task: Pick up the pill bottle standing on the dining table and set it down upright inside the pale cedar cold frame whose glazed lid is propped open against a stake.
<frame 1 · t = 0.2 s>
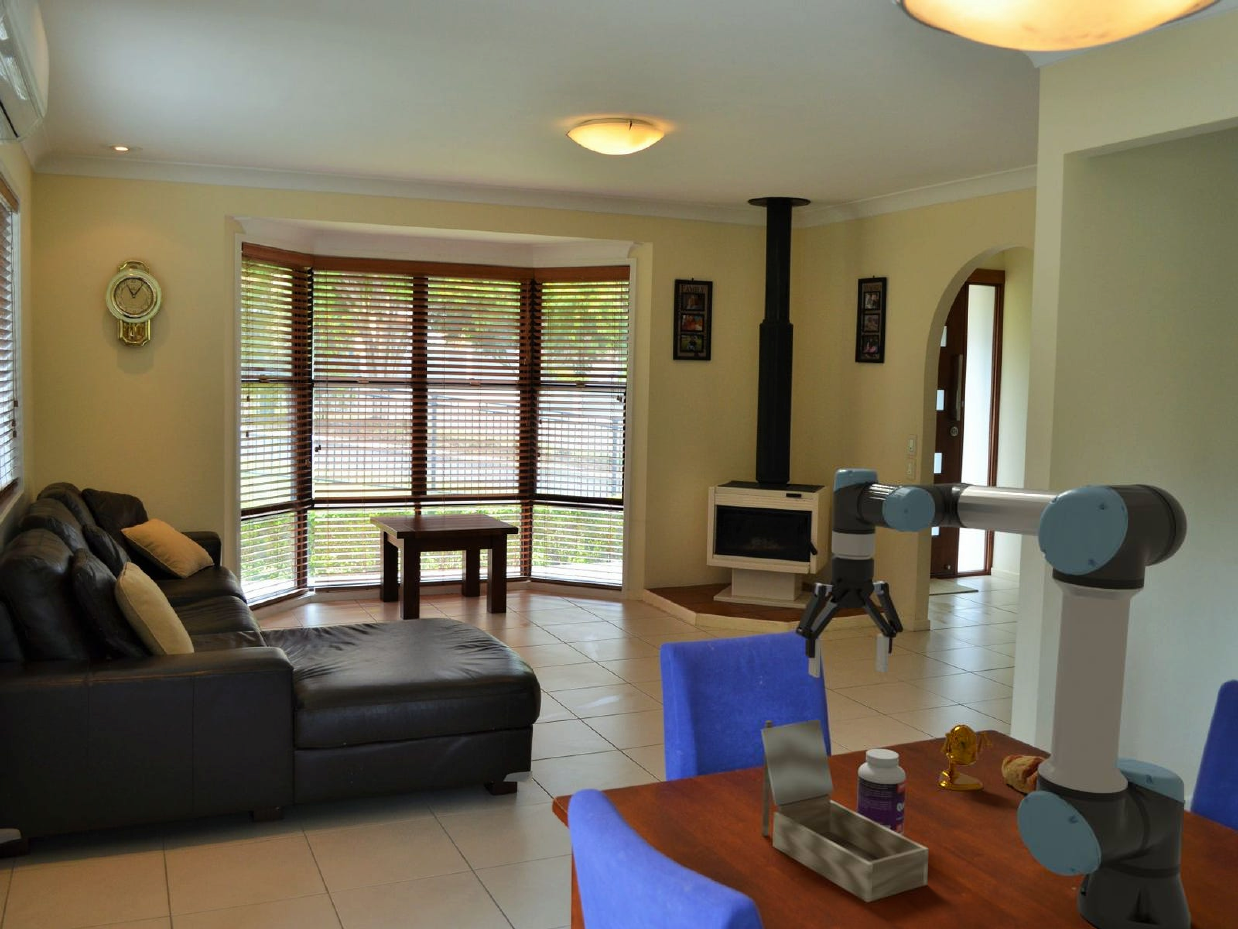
hand: (848, 673, 192), 27 cm above the table, fingers open, 13 cm apart
figurine: (958, 784, 213), on the table
croissant: (1032, 789, 213), on the table
pill bottle: (879, 835, 188), on the table
cold frame: (847, 864, 175), on the table
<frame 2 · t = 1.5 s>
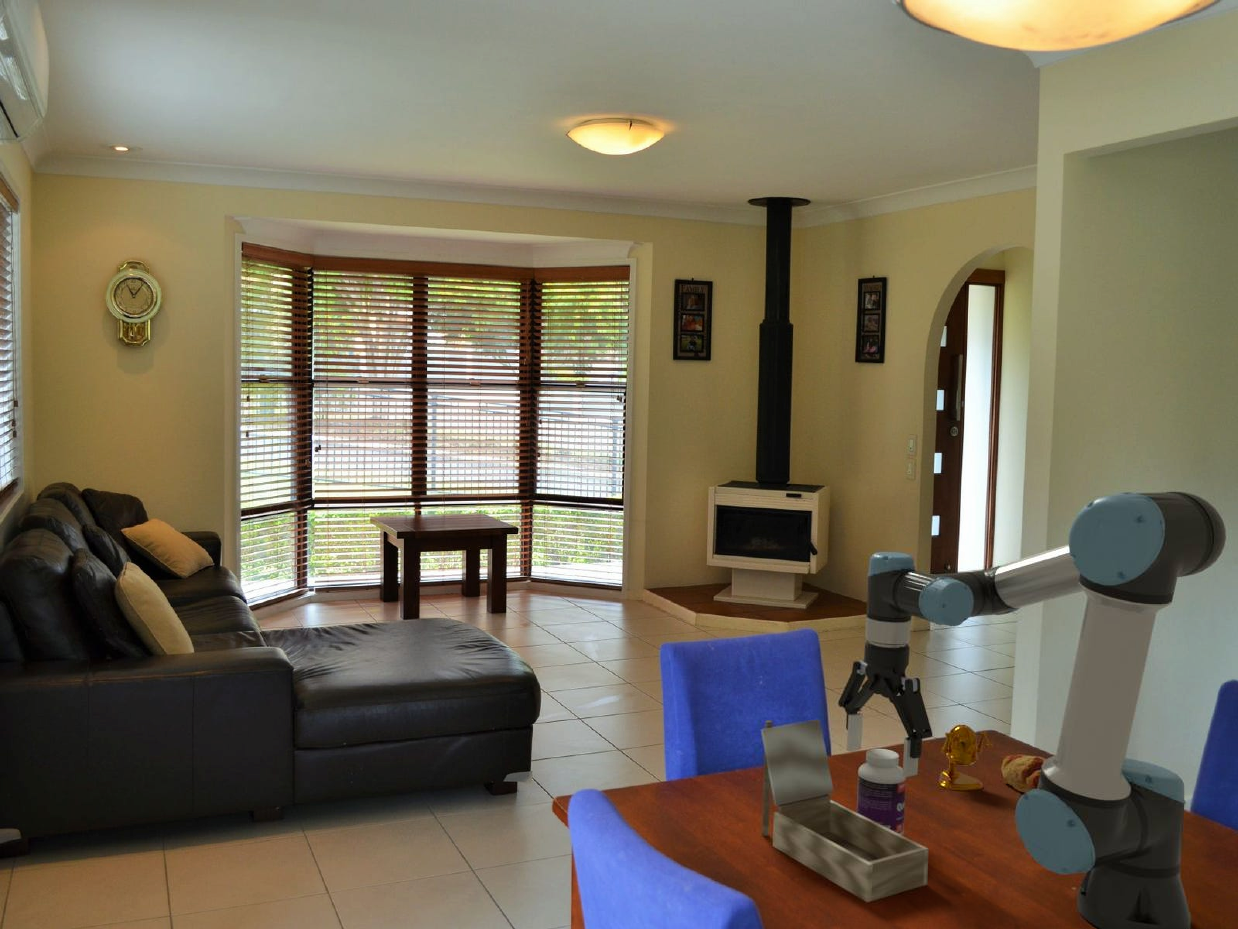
hand: (881, 762, 187), 13 cm above the table, fingers open, 13 cm apart
nothing on the table moved.
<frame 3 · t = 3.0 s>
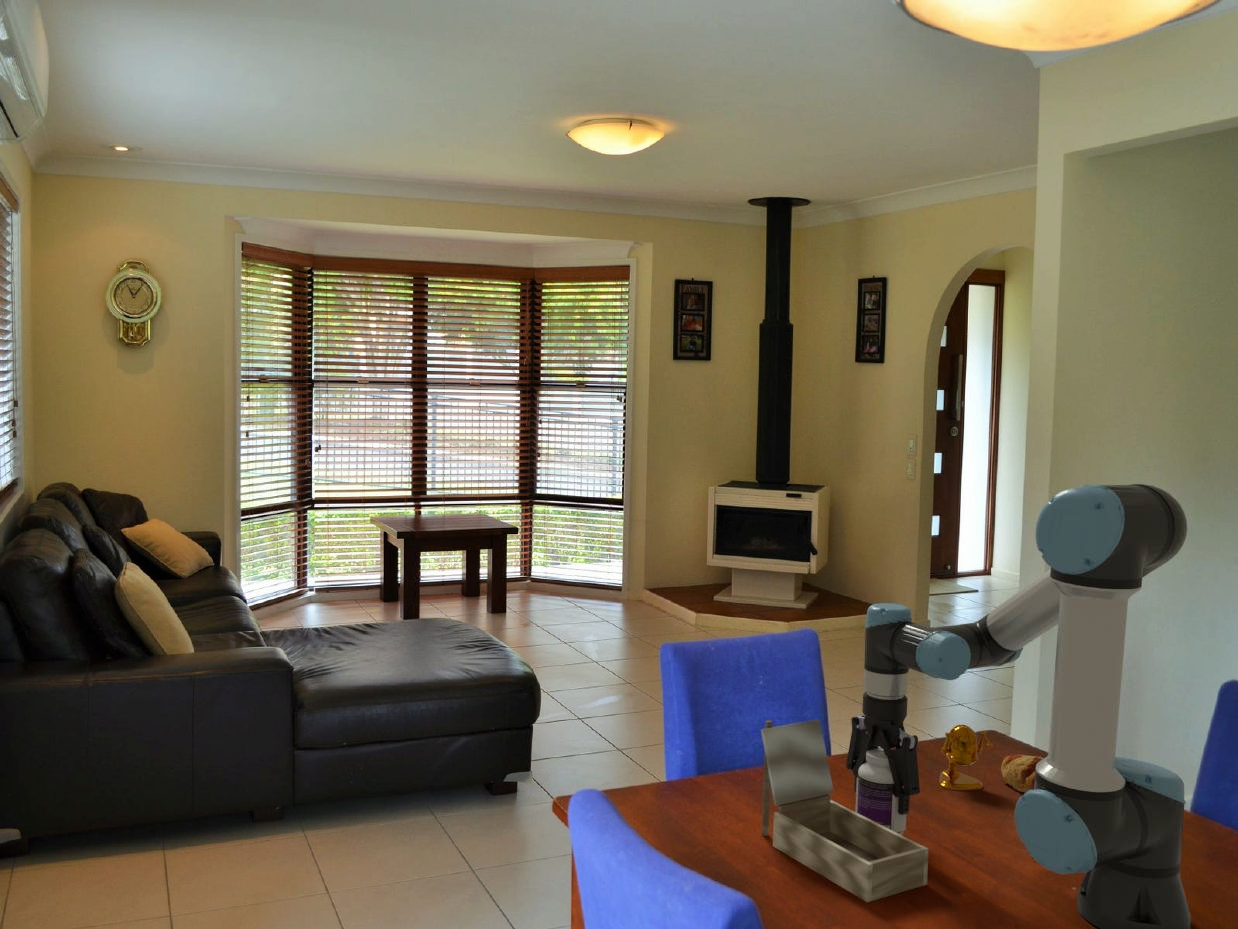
hand: (880, 821, 187), 2 cm above the table, fingers closed on pill bottle, 8 cm apart
pill bottle: (879, 835, 188), on the table, touching gripper
everything else where it was.
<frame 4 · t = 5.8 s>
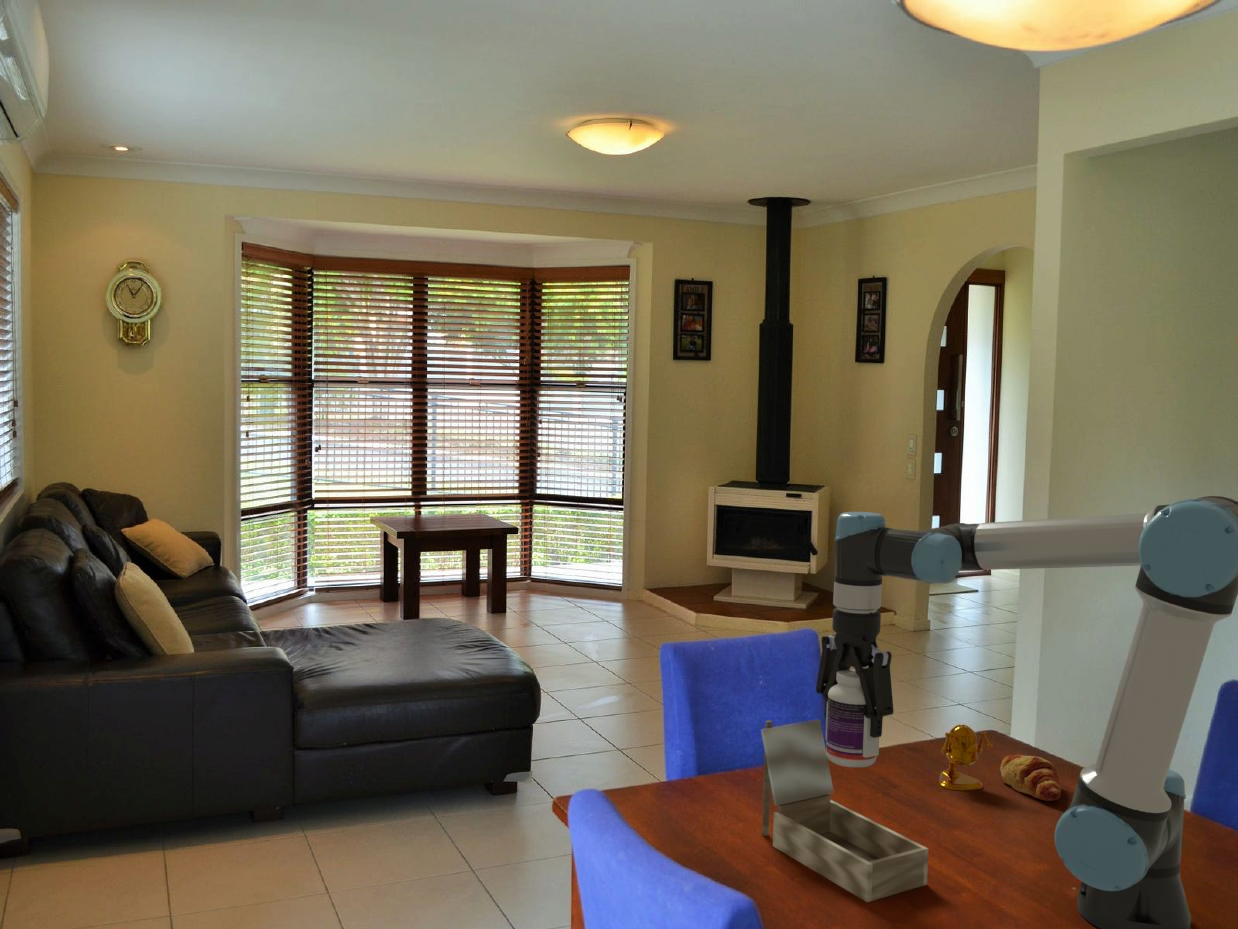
hand: (851, 747, 174), 19 cm above the table, fingers closed on pill bottle, 8 cm apart
pill bottle: (850, 762, 174), point 17 cm above the table, touching gripper
everything else where it was.
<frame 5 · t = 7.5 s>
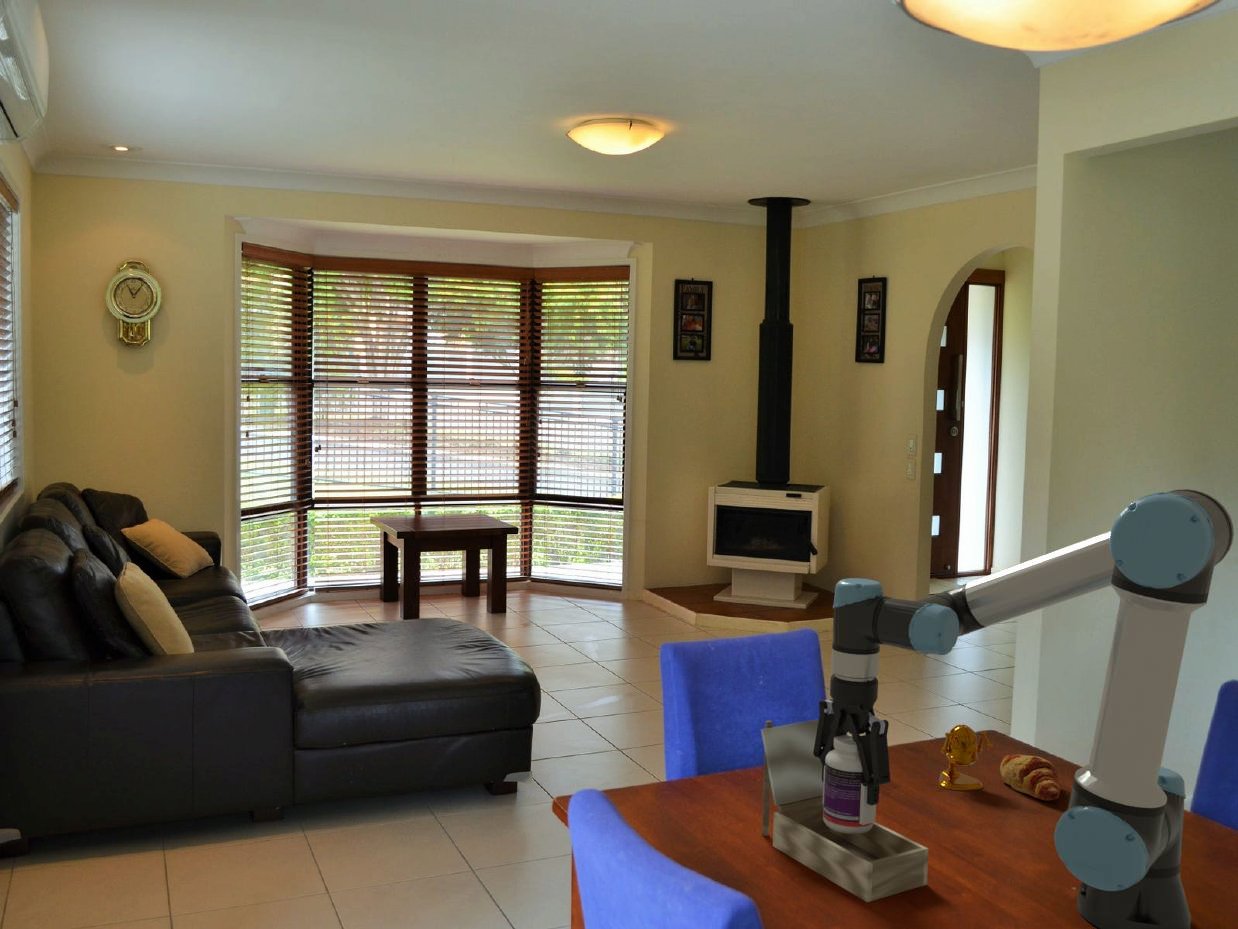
hand: (848, 812, 175), 9 cm above the table, fingers closed on pill bottle, 8 cm apart
pill bottle: (847, 827, 175), point 6 cm above the table, touching gripper
everything else where it was.
when the fingers open (5 cm above the table, at t = 8.7 s): pill bottle drops 2 cm, resting on cold frame.
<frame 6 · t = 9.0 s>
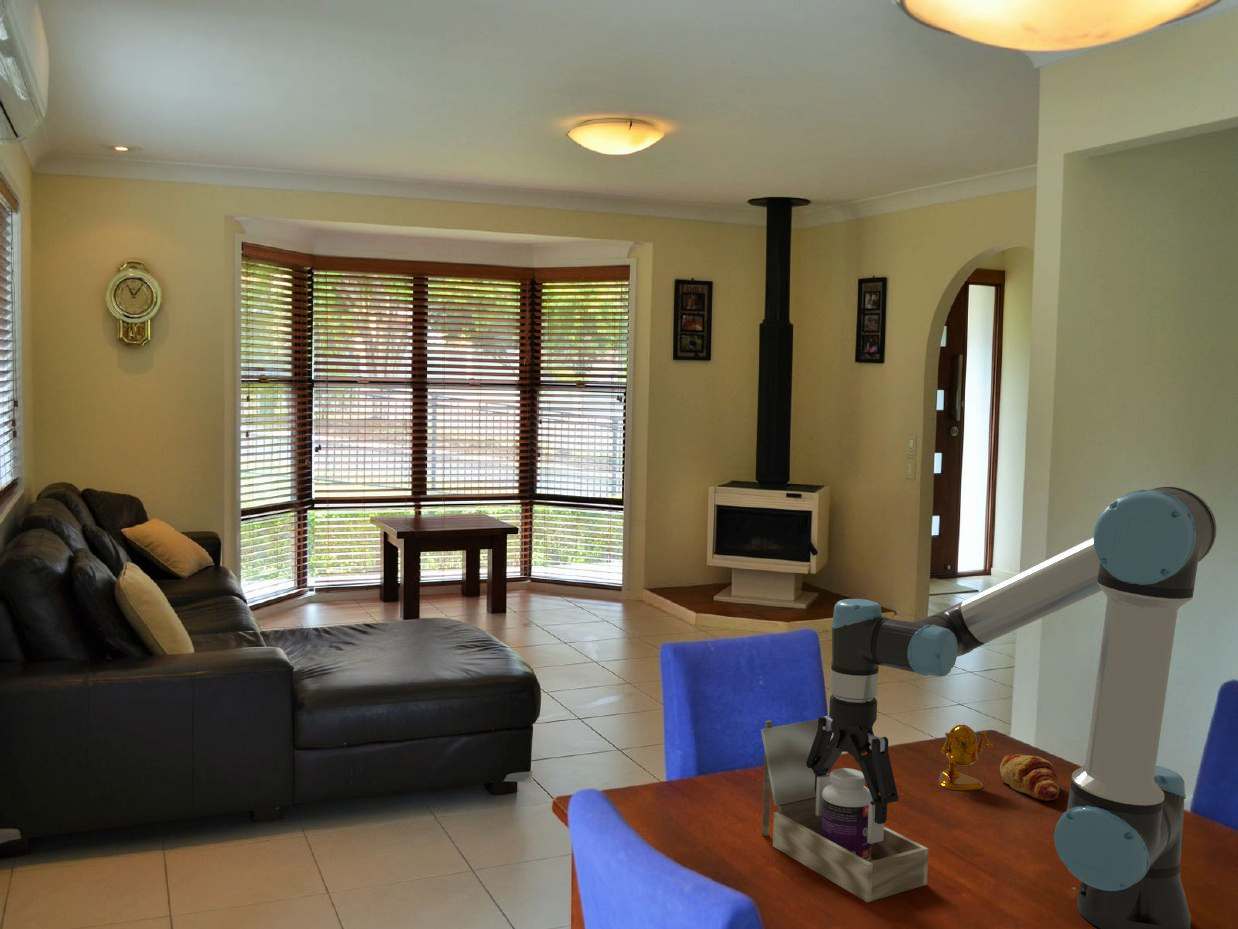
hand: (848, 827, 175), 6 cm above the table, fingers open, 11 cm apart
pill bottle: (845, 861, 175), resting on cold frame
everything else where it was.
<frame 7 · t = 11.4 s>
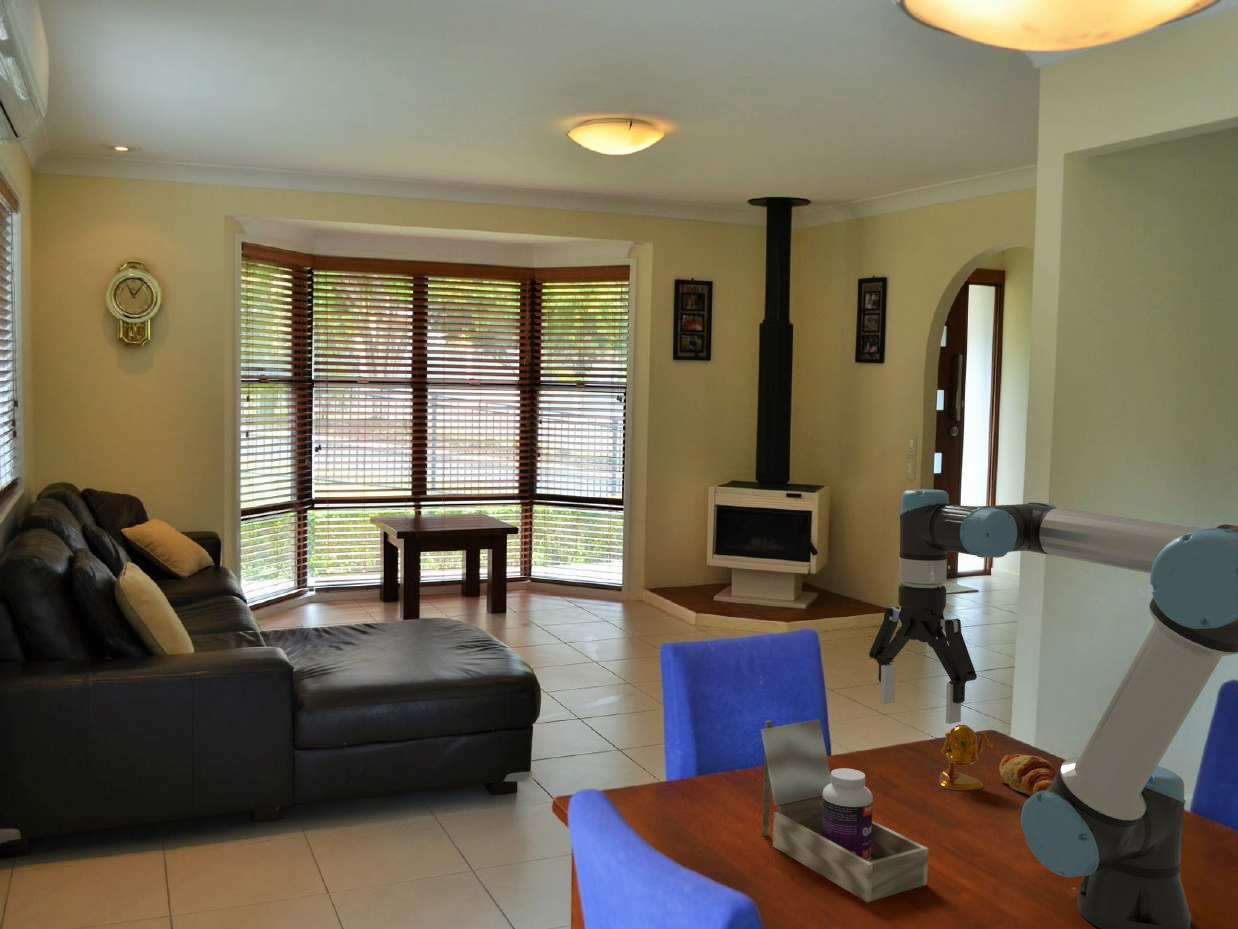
hand: (919, 712, 177), 25 cm above the table, fingers open, 13 cm apart
nothing on the table moved.
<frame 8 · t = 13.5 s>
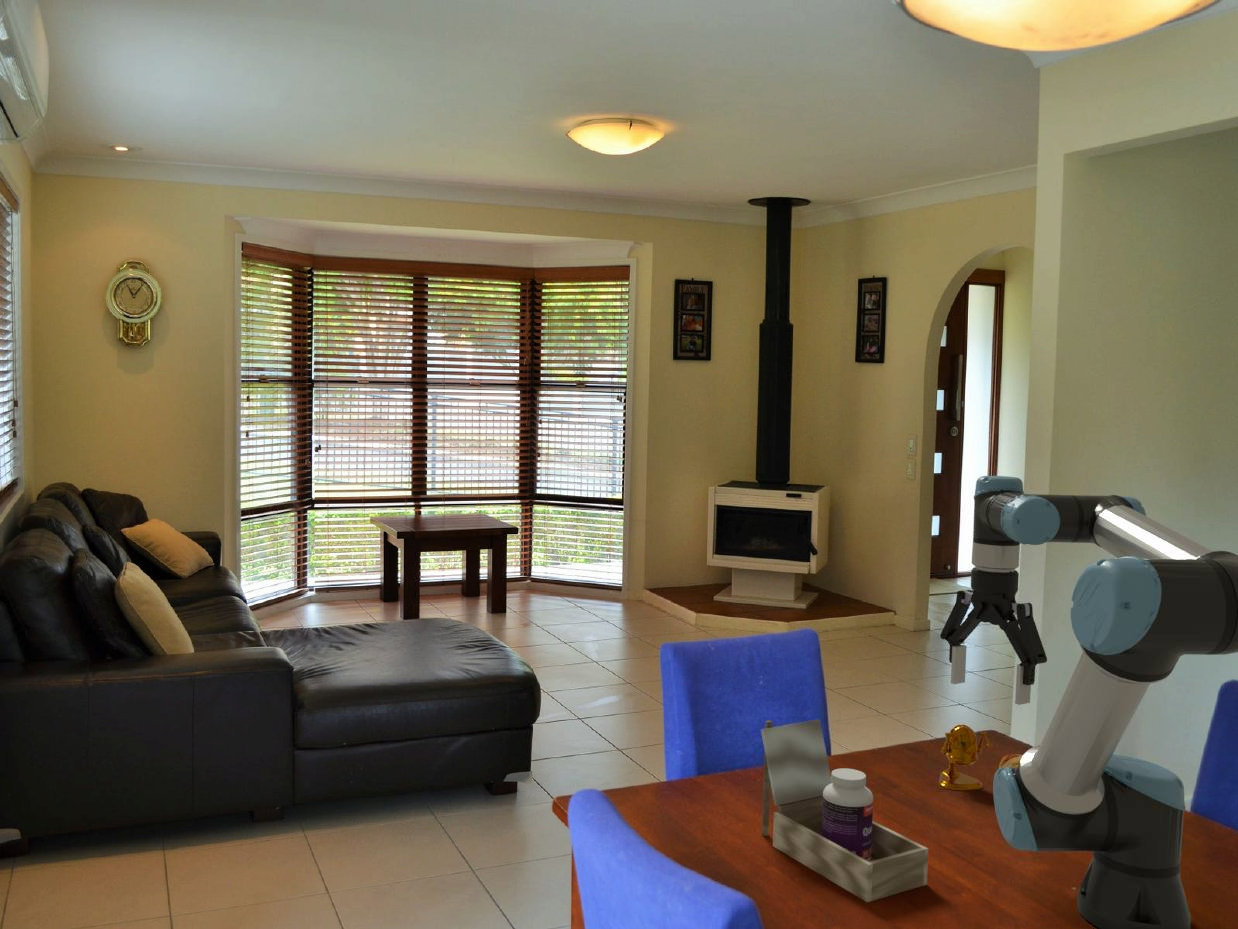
hand: (989, 693, 182), 27 cm above the table, fingers open, 13 cm apart
nothing on the table moved.
at the end: pill bottle inside the target area on the cold frame (0.3 cm from its centre), point 0.4 cm above the cold frame's base; pill bottle tilted 0°; the gripper is holding nothing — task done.
